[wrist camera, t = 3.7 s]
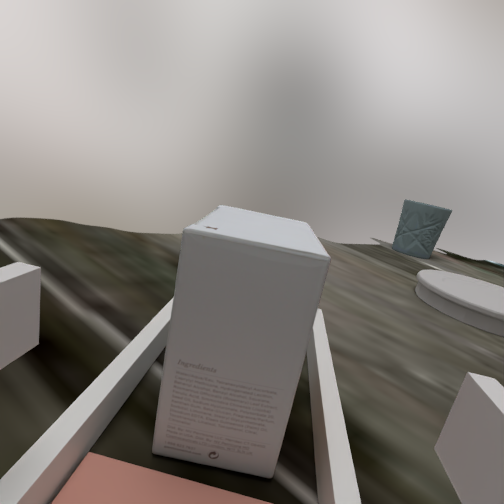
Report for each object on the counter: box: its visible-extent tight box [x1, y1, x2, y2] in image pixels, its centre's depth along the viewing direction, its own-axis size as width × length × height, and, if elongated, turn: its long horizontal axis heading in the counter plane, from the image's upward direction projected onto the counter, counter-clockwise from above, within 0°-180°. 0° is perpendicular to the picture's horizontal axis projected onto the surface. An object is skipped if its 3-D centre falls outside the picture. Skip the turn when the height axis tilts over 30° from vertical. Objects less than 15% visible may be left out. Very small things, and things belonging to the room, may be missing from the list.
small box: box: [152, 205, 331, 478], centre depth 17 cm, size 8×6×10 cm
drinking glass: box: [392, 200, 452, 259], centre depth 77 cm, size 10×10×12 cm
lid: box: [415, 270, 504, 337], centre depth 46 cm, size 17×20×3 cm
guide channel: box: [0, 297, 361, 504], centre depth 18 cm, size 12×23×2 cm, turn 173°
